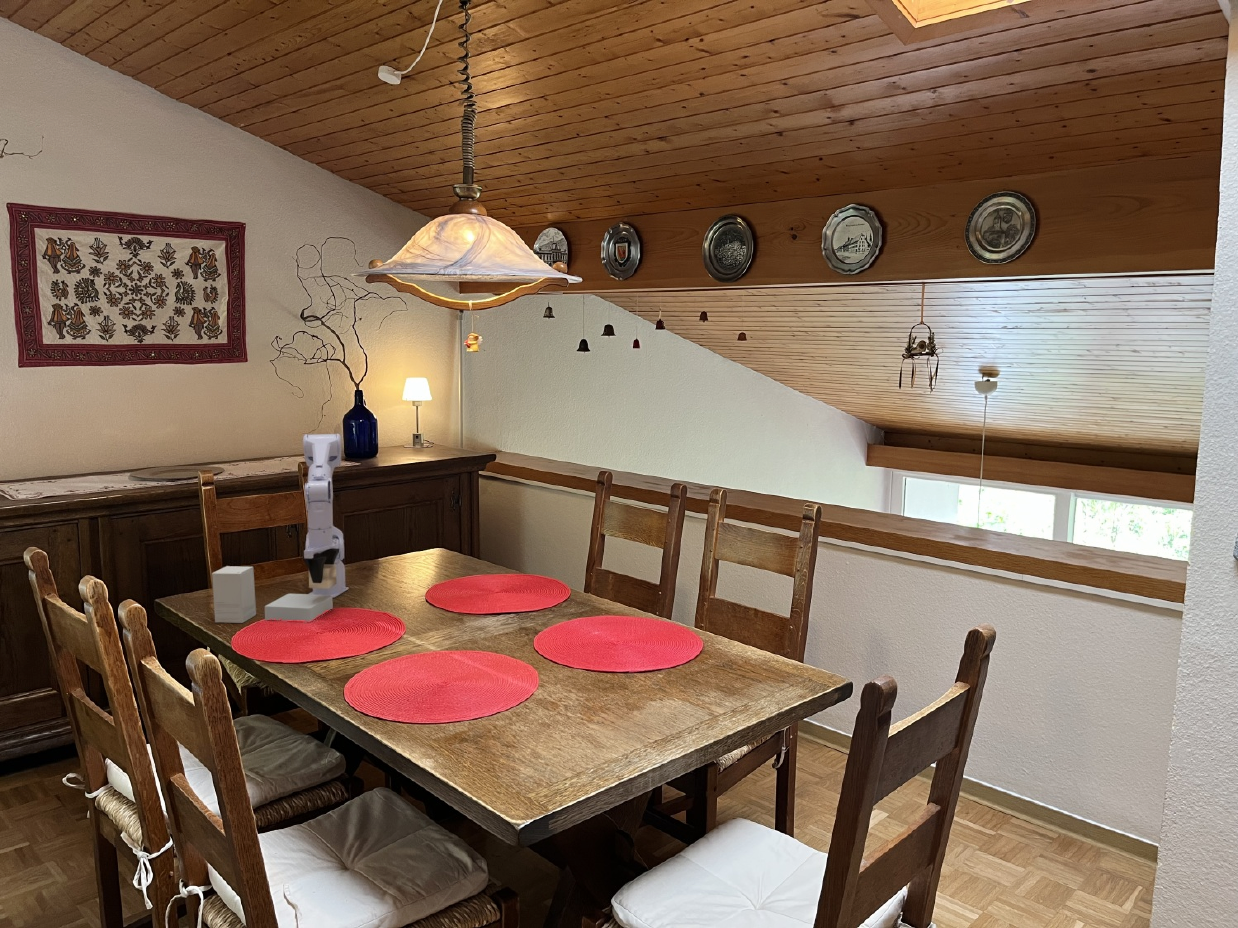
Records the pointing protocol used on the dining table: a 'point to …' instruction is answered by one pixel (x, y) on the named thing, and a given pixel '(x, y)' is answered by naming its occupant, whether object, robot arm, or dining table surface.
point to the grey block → (298, 607)
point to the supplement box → (234, 594)
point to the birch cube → (325, 578)
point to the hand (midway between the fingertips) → (322, 579)
